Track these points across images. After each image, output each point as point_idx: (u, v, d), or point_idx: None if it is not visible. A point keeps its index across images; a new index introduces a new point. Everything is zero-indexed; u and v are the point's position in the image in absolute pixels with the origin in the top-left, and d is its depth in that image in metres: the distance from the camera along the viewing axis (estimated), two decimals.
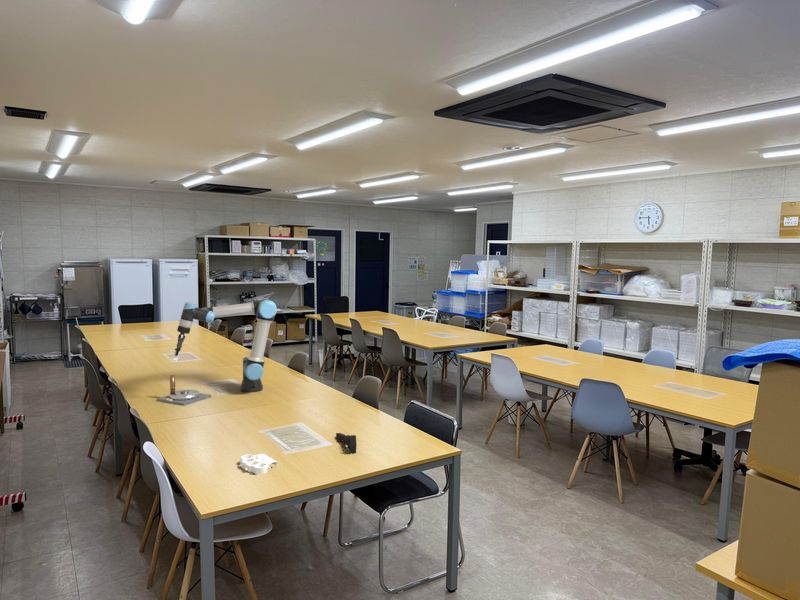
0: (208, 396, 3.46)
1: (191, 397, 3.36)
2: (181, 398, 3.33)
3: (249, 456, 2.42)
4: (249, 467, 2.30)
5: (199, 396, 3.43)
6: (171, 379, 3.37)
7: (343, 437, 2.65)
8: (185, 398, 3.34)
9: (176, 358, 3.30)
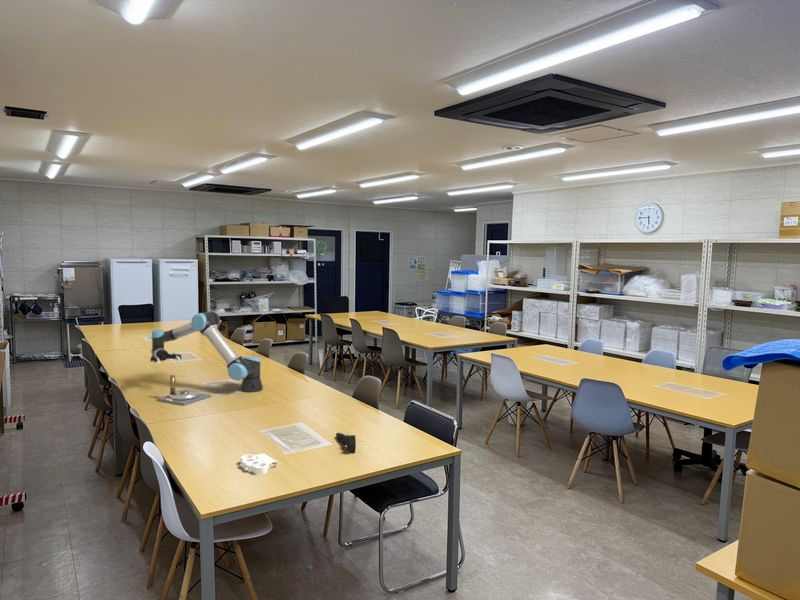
0: (208, 396, 3.46)
1: (191, 397, 3.36)
2: (181, 398, 3.33)
3: (249, 456, 2.42)
4: (249, 467, 2.30)
5: (199, 396, 3.43)
6: (171, 379, 3.37)
7: (343, 437, 2.65)
8: (185, 398, 3.34)
9: (157, 360, 3.42)
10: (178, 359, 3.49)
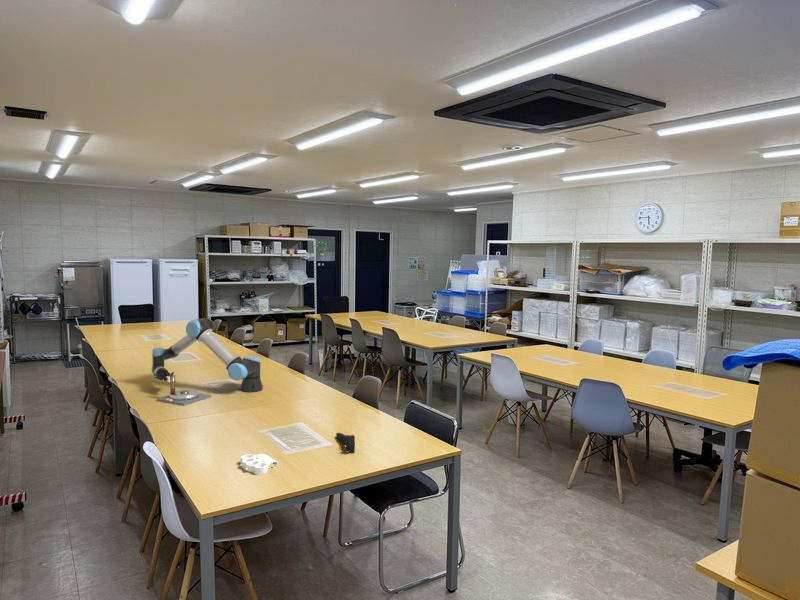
0: (208, 396, 3.46)
1: (191, 397, 3.36)
2: (181, 398, 3.33)
3: (249, 456, 2.42)
4: (249, 467, 2.30)
5: (199, 396, 3.43)
6: (171, 379, 3.37)
7: (343, 437, 2.65)
8: (185, 398, 3.34)
9: (167, 379, 3.46)
10: (169, 380, 3.45)
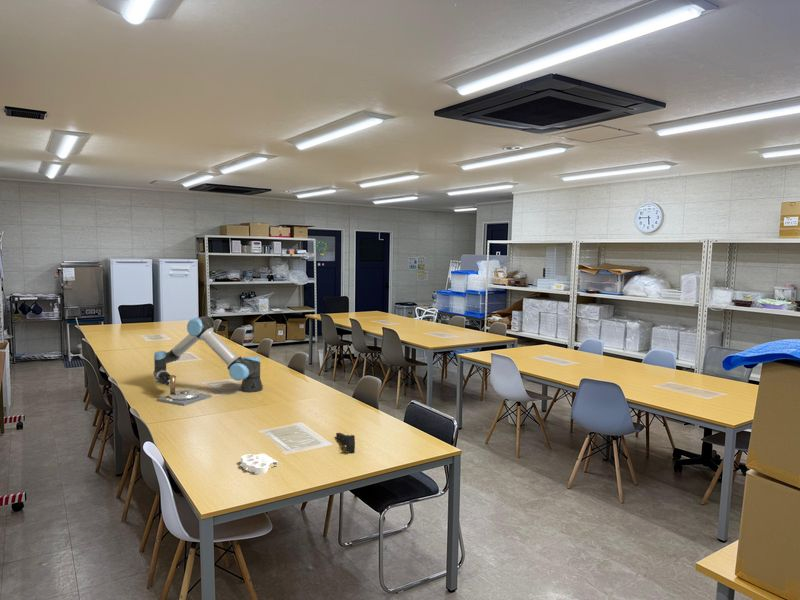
0: (208, 396, 3.46)
1: (191, 397, 3.36)
2: (181, 398, 3.33)
3: (249, 456, 2.43)
4: (249, 467, 2.30)
5: (199, 396, 3.43)
6: (171, 379, 3.37)
7: (343, 437, 2.65)
8: (185, 398, 3.34)
9: (169, 383, 3.41)
10: None
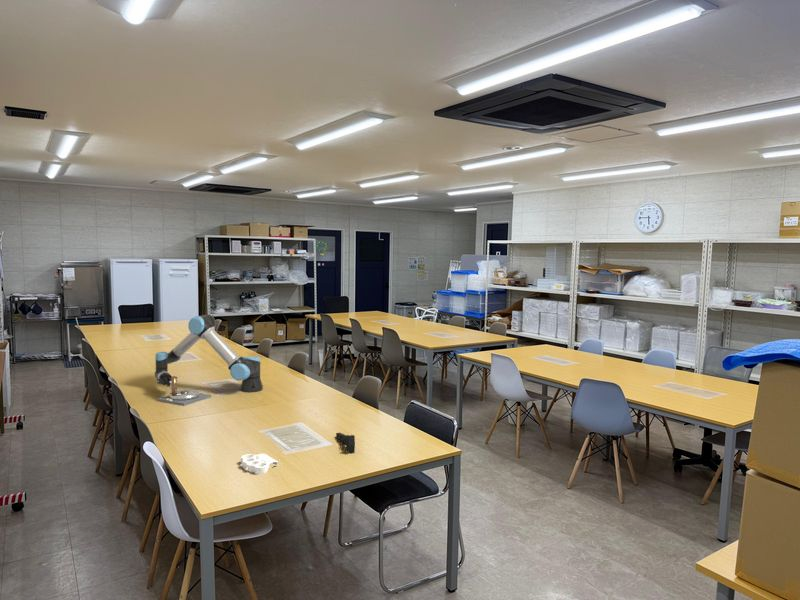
0: (208, 396, 3.46)
1: (197, 395, 3.41)
2: (189, 397, 3.35)
3: (250, 456, 2.43)
4: (249, 467, 2.31)
5: (199, 396, 3.43)
6: (174, 380, 3.34)
7: (343, 437, 2.66)
8: (193, 397, 3.37)
9: (170, 384, 3.38)
10: None
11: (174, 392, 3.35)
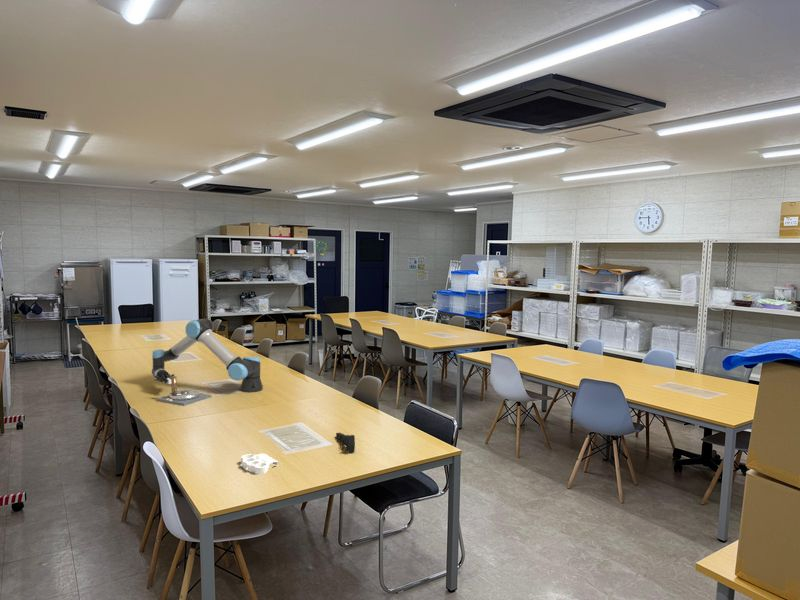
0: (208, 396, 3.46)
1: (197, 395, 3.41)
2: (190, 397, 3.35)
3: (250, 456, 2.43)
4: (250, 467, 2.31)
5: (199, 396, 3.43)
6: (174, 380, 3.34)
7: (343, 437, 2.66)
8: (193, 397, 3.37)
9: (168, 380, 3.45)
10: (170, 382, 3.45)
11: (174, 392, 3.35)
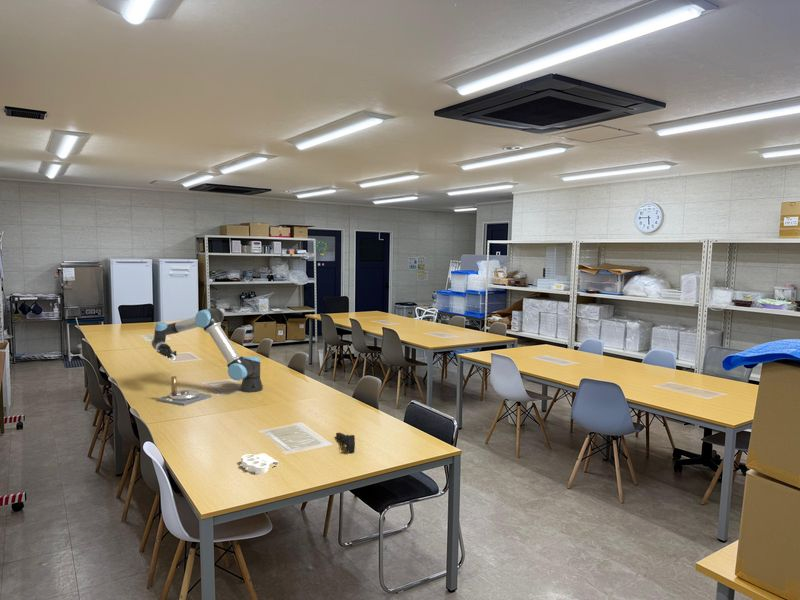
0: (208, 396, 3.46)
1: (197, 395, 3.41)
2: (190, 397, 3.35)
3: (250, 456, 2.43)
4: (250, 467, 2.31)
5: (199, 396, 3.43)
6: (174, 380, 3.34)
7: (343, 437, 2.66)
8: (193, 397, 3.37)
9: (172, 357, 3.46)
10: (174, 358, 3.45)
11: (174, 392, 3.35)
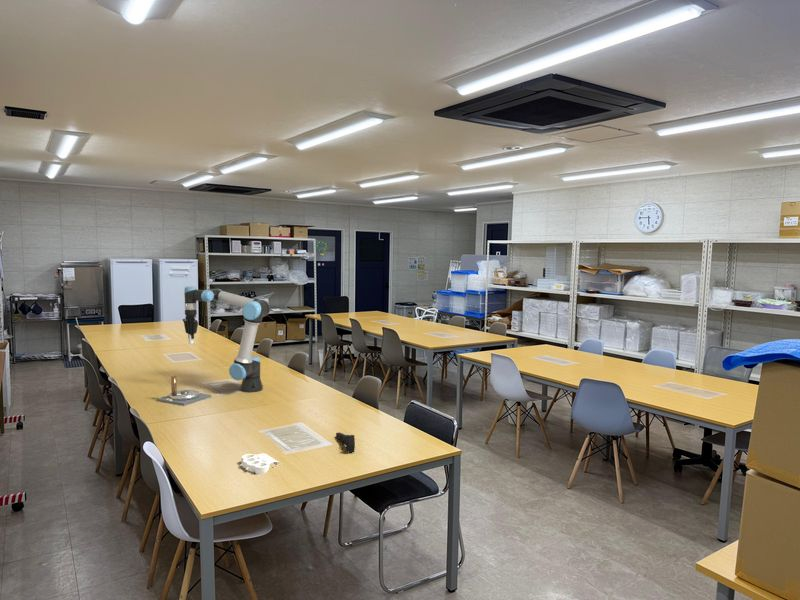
0: (208, 396, 3.46)
1: (197, 395, 3.41)
2: (190, 397, 3.35)
3: (250, 456, 2.43)
4: (250, 467, 2.31)
5: (199, 396, 3.43)
6: (174, 380, 3.34)
7: (343, 437, 2.66)
8: (193, 397, 3.37)
9: (192, 341, 3.62)
10: (191, 343, 3.62)
11: (174, 392, 3.35)
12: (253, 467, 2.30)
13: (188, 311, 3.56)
